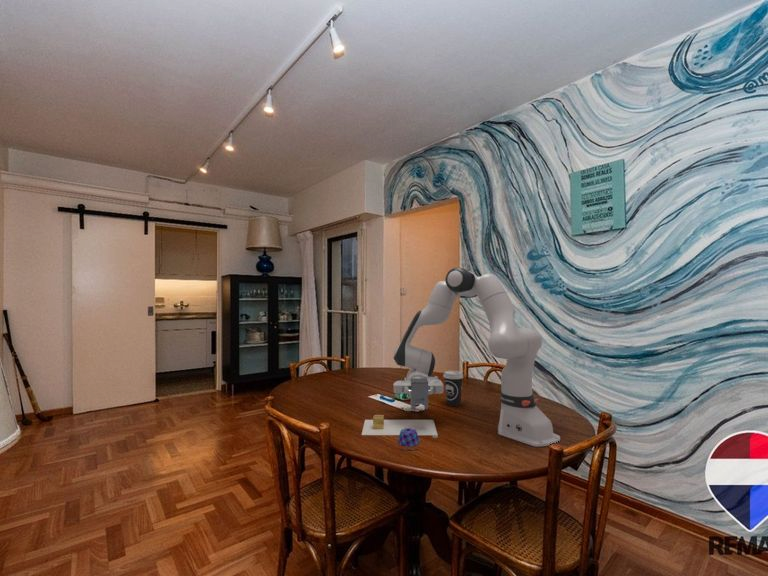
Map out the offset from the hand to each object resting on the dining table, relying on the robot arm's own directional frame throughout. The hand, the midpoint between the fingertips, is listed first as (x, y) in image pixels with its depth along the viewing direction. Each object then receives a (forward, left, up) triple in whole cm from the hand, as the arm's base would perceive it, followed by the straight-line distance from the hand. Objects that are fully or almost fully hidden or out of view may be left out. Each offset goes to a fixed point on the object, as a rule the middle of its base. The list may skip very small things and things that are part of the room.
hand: (419, 392), depth 139 cm
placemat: (+5, +7, -14) cm, 17 cm away
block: (+9, +14, -13) cm, 21 cm away
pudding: (-9, +11, -15) cm, 21 cm away
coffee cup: (+20, -32, -15) cm, 41 cm away
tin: (+1, 0, -5) cm, 6 cm away
